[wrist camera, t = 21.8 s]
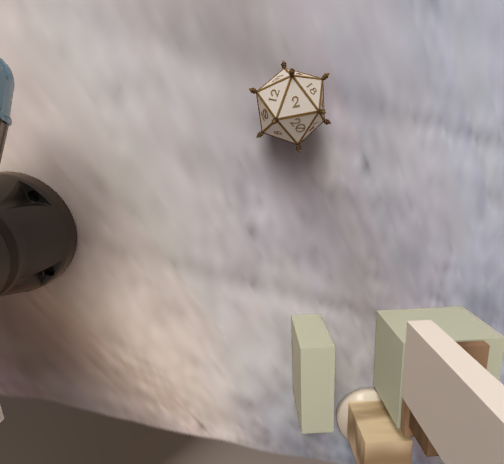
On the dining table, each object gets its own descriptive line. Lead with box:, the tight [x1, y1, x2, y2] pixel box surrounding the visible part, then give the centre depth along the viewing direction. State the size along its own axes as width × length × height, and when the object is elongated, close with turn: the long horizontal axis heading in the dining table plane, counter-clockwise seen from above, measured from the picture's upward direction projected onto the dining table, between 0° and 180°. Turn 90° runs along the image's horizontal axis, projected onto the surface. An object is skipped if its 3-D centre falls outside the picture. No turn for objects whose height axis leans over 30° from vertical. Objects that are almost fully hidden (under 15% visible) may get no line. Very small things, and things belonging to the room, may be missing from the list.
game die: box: [249, 61, 331, 153], centre depth 36 cm, size 9×8×10 cm
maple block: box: [347, 400, 413, 464], centre depth 46 cm, size 6×6×7 cm
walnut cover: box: [400, 340, 490, 457], centre depth 37 cm, size 9×12×5 cm
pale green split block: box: [291, 306, 504, 434], centre depth 44 cm, size 24×12×8 cm, turn 93°
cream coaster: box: [336, 388, 382, 438], centre depth 50 cm, size 9×9×1 cm
